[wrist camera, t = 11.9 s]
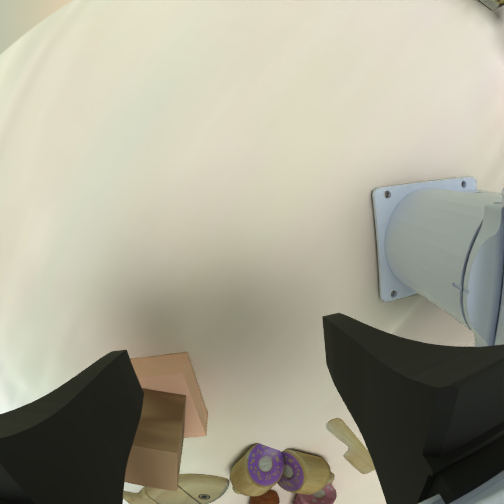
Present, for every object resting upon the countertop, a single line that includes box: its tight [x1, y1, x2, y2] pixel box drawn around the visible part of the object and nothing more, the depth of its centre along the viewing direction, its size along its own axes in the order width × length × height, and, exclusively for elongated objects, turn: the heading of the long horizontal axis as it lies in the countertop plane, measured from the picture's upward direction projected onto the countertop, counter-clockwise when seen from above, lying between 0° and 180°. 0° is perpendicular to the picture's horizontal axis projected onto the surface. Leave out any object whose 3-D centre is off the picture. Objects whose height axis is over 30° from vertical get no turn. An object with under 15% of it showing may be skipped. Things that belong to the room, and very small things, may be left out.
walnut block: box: [124, 388, 186, 491], centre depth 17 cm, size 4×4×6 cm
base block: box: [130, 352, 208, 438], centre depth 21 cm, size 6×6×3 cm
